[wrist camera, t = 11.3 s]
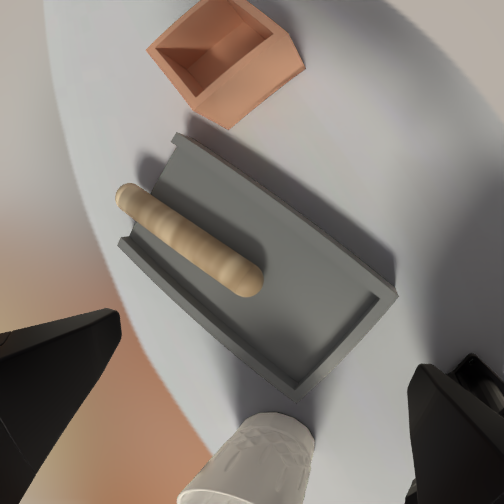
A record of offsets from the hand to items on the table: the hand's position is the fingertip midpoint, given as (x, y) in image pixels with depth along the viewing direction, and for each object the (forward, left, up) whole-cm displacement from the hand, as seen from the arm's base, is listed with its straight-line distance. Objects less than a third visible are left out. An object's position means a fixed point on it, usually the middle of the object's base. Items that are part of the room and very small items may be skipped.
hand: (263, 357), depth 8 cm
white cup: (-6, +14, -13) cm, 20 cm away
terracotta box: (+14, -9, -13) cm, 21 cm away
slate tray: (+5, +3, -13) cm, 14 cm away
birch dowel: (+3, +3, -13) cm, 13 cm away
